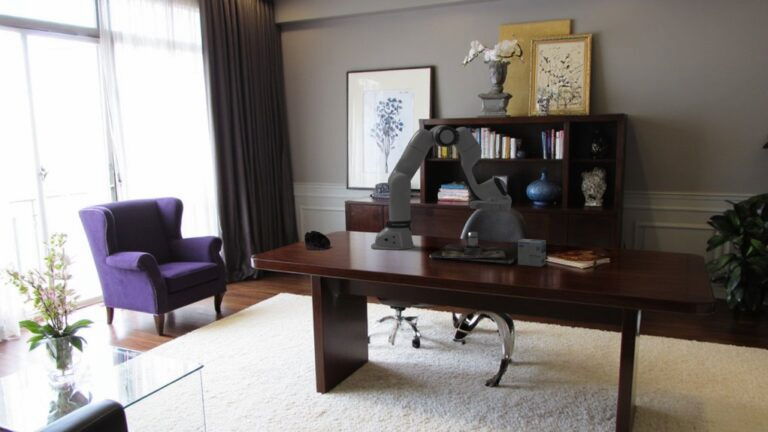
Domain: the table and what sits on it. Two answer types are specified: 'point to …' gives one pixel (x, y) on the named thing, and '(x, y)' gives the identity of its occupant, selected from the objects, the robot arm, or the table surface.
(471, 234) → the coupling sleeve
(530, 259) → the light bulb box
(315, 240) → the crystal cluster
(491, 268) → the table surface
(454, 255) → the shaft frame
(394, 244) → the robot arm
